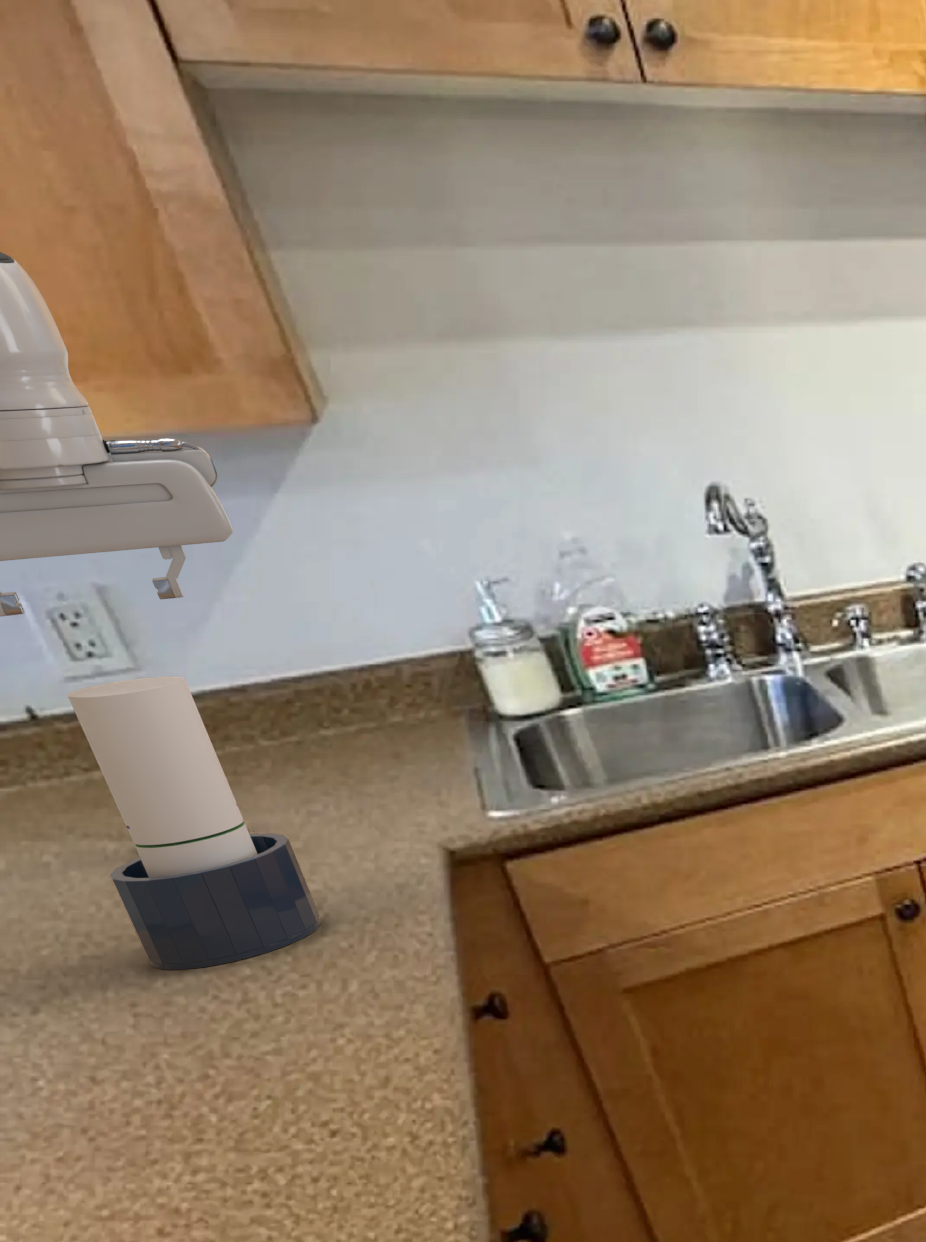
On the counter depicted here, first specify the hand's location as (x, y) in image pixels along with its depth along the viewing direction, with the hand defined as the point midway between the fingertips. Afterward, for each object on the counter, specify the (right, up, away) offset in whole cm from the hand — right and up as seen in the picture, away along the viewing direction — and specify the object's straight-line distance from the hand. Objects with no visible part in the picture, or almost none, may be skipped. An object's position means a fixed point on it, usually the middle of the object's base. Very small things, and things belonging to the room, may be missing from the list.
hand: (94, 606), depth 115 cm
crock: (+1, -31, +11) cm, 33 cm away
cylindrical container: (0, -31, +11) cm, 33 cm away
